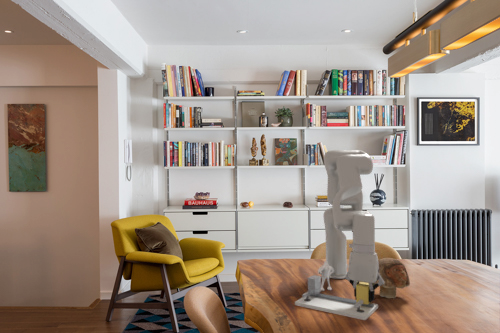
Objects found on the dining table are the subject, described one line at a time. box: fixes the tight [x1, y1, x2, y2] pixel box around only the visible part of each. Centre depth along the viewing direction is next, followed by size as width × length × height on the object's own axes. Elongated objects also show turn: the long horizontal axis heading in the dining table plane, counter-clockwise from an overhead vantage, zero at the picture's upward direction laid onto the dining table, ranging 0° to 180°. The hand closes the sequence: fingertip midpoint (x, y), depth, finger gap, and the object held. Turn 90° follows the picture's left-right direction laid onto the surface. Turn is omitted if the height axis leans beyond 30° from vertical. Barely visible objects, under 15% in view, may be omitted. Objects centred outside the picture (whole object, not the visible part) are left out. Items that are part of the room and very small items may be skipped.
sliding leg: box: [354, 281, 370, 310], centre depth 135 cm, size 12×4×7 cm, turn 145°
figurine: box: [317, 260, 334, 292], centre depth 160 cm, size 7×4×12 cm, turn 108°
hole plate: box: [294, 296, 379, 321], centre depth 140 cm, size 14×26×1 cm, turn 55°
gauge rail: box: [301, 274, 375, 308], centre depth 140 cm, size 12×25×7 cm, turn 55°
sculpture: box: [375, 257, 411, 299], centre depth 150 cm, size 15×16×15 cm
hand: (364, 299), depth 137 cm, fingers closed on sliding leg, 4 cm apart
